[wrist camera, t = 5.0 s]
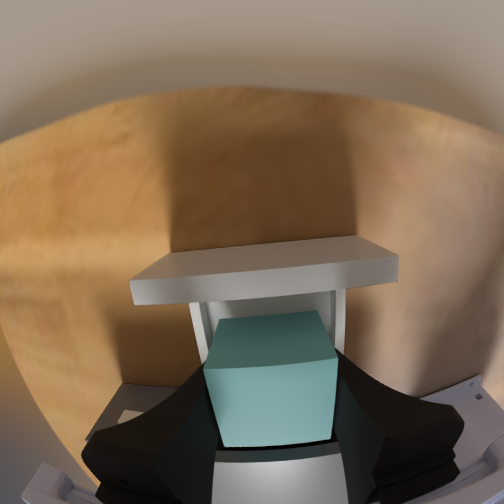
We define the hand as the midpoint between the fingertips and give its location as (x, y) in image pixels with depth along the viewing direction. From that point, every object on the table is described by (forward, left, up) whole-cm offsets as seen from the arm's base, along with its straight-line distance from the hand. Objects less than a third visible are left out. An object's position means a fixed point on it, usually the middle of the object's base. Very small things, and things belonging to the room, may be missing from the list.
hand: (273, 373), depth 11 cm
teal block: (0, 0, -1) cm, 1 cm away
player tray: (0, -1, -4) cm, 4 cm away
